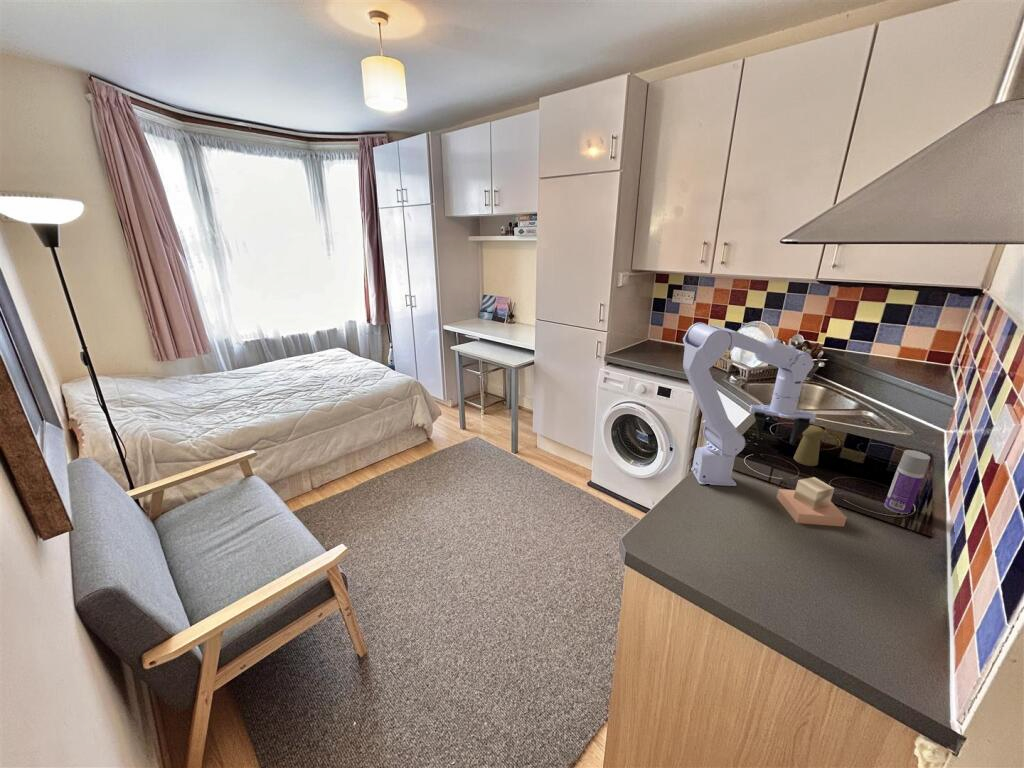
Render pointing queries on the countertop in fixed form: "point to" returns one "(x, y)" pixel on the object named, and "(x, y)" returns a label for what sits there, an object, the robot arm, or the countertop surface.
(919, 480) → the container
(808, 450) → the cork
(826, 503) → the beech cube
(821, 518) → the terracotta block
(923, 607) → the countertop surface
